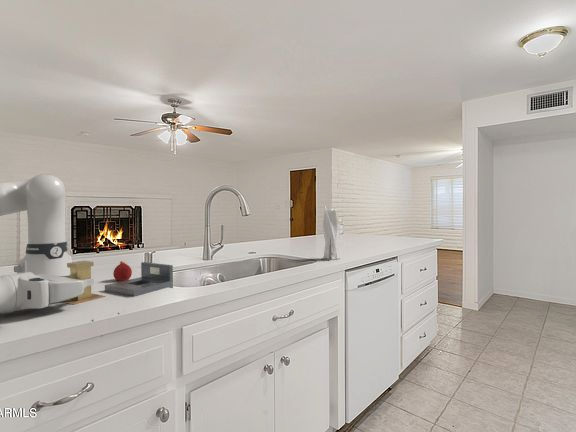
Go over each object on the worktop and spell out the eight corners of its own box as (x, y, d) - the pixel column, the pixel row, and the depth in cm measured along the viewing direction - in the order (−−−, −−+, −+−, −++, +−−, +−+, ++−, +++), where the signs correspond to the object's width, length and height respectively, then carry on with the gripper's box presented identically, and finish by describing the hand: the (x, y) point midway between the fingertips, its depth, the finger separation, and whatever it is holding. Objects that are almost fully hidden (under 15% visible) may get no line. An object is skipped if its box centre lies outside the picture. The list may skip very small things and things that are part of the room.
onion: (127, 280, 115) (127, 259, 115) (134, 283, 111) (134, 260, 111) (110, 283, 111) (110, 261, 110) (117, 286, 107) (117, 263, 107)
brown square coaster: (54, 304, 86) (54, 300, 86) (88, 296, 94) (88, 292, 94) (72, 309, 82) (72, 304, 82) (106, 300, 90) (106, 296, 90)
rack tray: (104, 294, 96) (104, 268, 96) (144, 284, 109) (144, 262, 108) (134, 300, 90) (133, 273, 89) (173, 289, 102) (172, 265, 102)
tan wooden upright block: (67, 299, 87) (67, 263, 87) (84, 295, 91) (84, 260, 91) (77, 301, 85) (76, 264, 85) (94, 297, 89) (93, 261, 89)
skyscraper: (318, 258, 163) (318, 205, 163) (329, 257, 169) (328, 205, 168) (331, 260, 157) (331, 205, 157) (341, 259, 163) (341, 205, 162)
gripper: (3, 298, 81) (62, 286, 93) (44, 309, 72) (104, 294, 84) (3, 274, 81) (62, 265, 93) (43, 282, 71) (103, 271, 84)
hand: (82, 279), depth 88 cm, fingers open, 8 cm apart
